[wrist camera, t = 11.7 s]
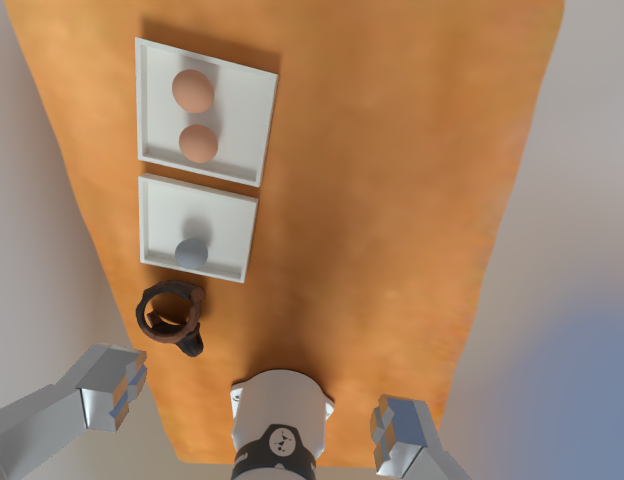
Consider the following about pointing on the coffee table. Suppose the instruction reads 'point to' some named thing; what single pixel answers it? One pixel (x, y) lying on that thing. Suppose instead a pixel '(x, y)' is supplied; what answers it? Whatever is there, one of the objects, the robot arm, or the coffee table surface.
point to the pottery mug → (168, 333)
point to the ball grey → (191, 254)
